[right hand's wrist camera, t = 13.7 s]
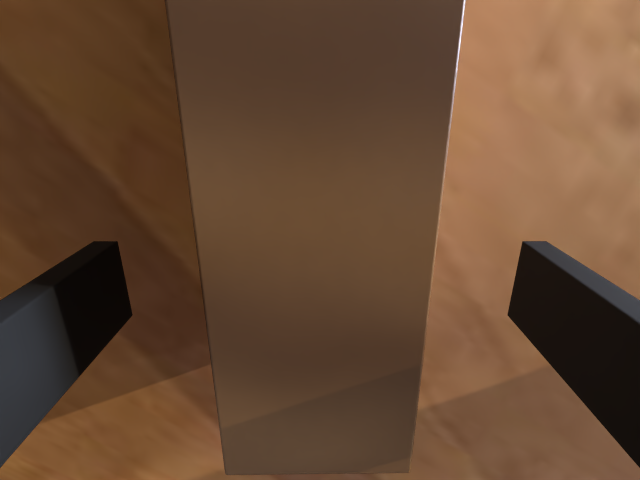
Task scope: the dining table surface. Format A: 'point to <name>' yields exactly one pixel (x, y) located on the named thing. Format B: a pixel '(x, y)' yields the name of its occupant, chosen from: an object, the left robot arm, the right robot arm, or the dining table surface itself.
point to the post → (316, 217)
